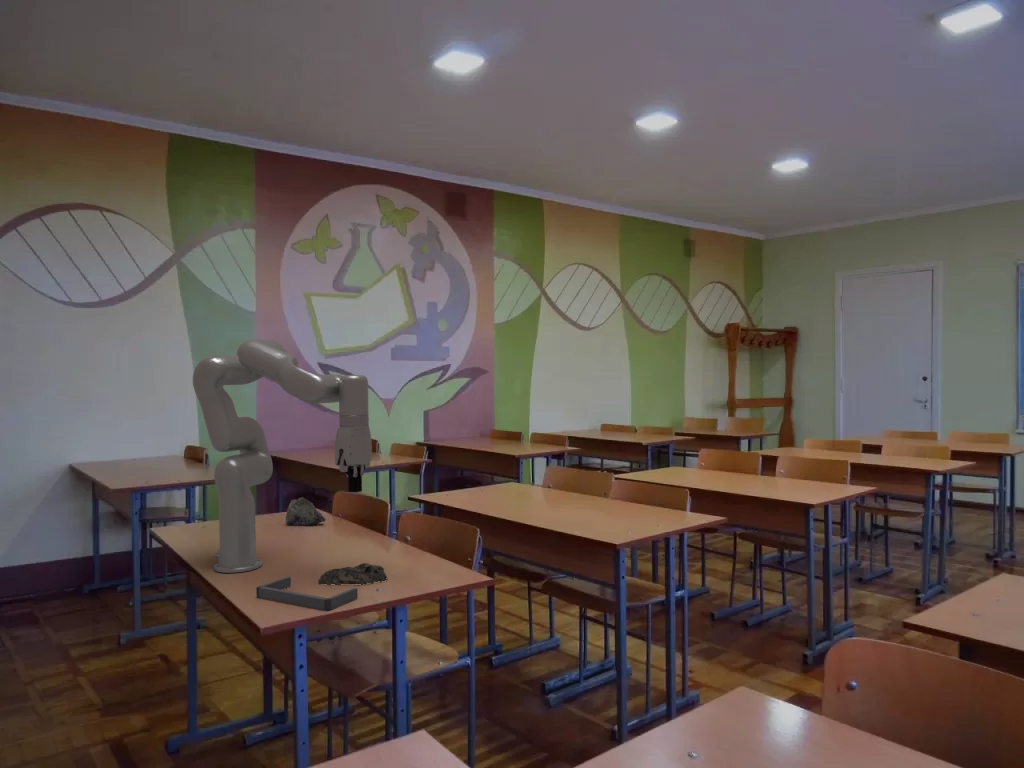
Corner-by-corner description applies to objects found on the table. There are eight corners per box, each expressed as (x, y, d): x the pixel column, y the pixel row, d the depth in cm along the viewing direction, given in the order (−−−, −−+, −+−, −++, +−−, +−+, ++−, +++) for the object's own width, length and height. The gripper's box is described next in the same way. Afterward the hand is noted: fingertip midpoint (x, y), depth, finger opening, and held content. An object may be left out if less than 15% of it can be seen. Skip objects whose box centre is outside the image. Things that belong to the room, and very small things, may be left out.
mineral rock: (327, 525, 260) (326, 497, 259) (299, 530, 252) (299, 501, 252) (309, 520, 269) (309, 493, 269) (282, 525, 261) (281, 497, 261)
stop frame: (256, 597, 176) (256, 587, 176) (288, 586, 185) (287, 576, 185) (327, 611, 165) (327, 600, 165) (357, 598, 174) (357, 588, 174)
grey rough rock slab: (402, 579, 191) (374, 568, 203) (401, 565, 191) (374, 554, 203) (335, 595, 179) (310, 582, 191) (334, 579, 179) (309, 567, 191)
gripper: (361, 419, 199) (363, 486, 199) (323, 423, 186) (324, 495, 186) (383, 420, 195) (384, 488, 195) (345, 424, 182) (346, 497, 182)
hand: (355, 491), depth 191 cm, fingers closed
